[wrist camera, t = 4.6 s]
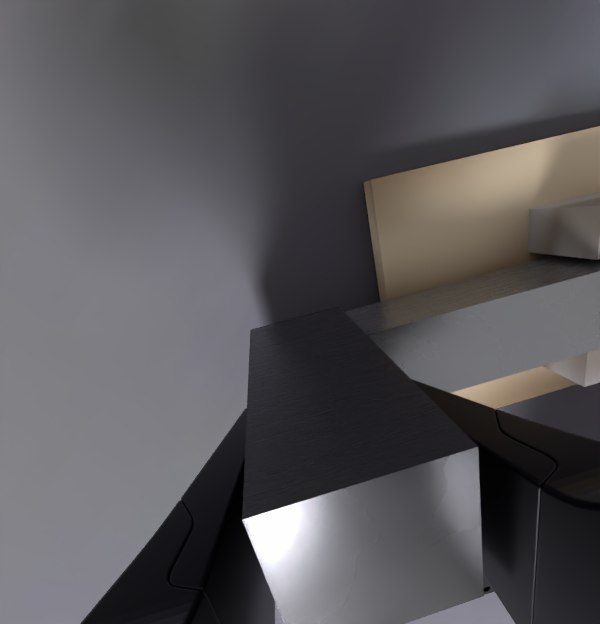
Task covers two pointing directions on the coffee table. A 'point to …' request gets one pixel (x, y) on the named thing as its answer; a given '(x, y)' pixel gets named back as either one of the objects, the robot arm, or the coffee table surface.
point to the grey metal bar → (391, 438)
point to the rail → (492, 233)
